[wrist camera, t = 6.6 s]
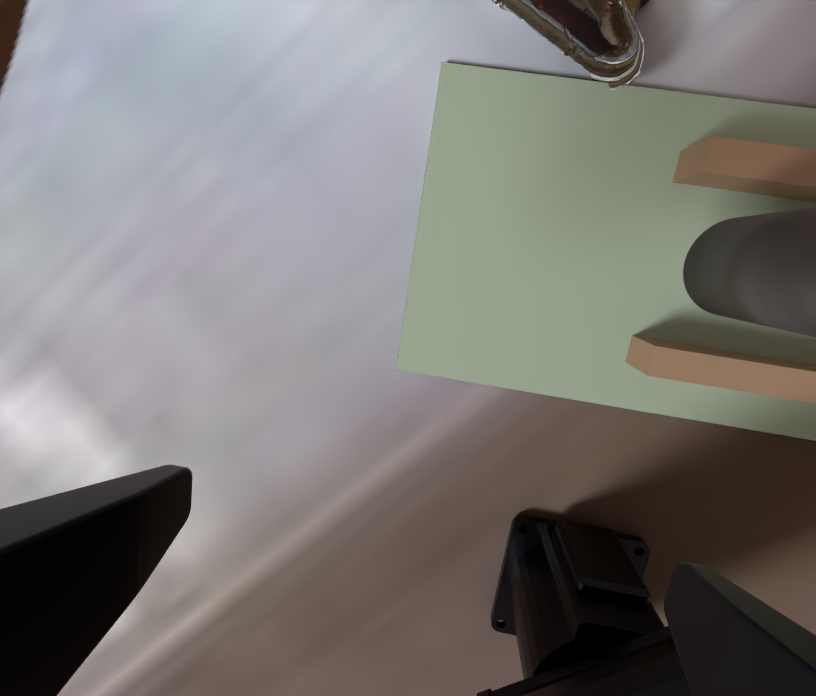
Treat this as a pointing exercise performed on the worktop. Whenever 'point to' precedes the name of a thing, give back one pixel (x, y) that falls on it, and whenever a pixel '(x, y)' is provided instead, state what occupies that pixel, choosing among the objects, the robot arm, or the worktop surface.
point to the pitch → (602, 246)
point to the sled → (757, 270)
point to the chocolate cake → (589, 33)
